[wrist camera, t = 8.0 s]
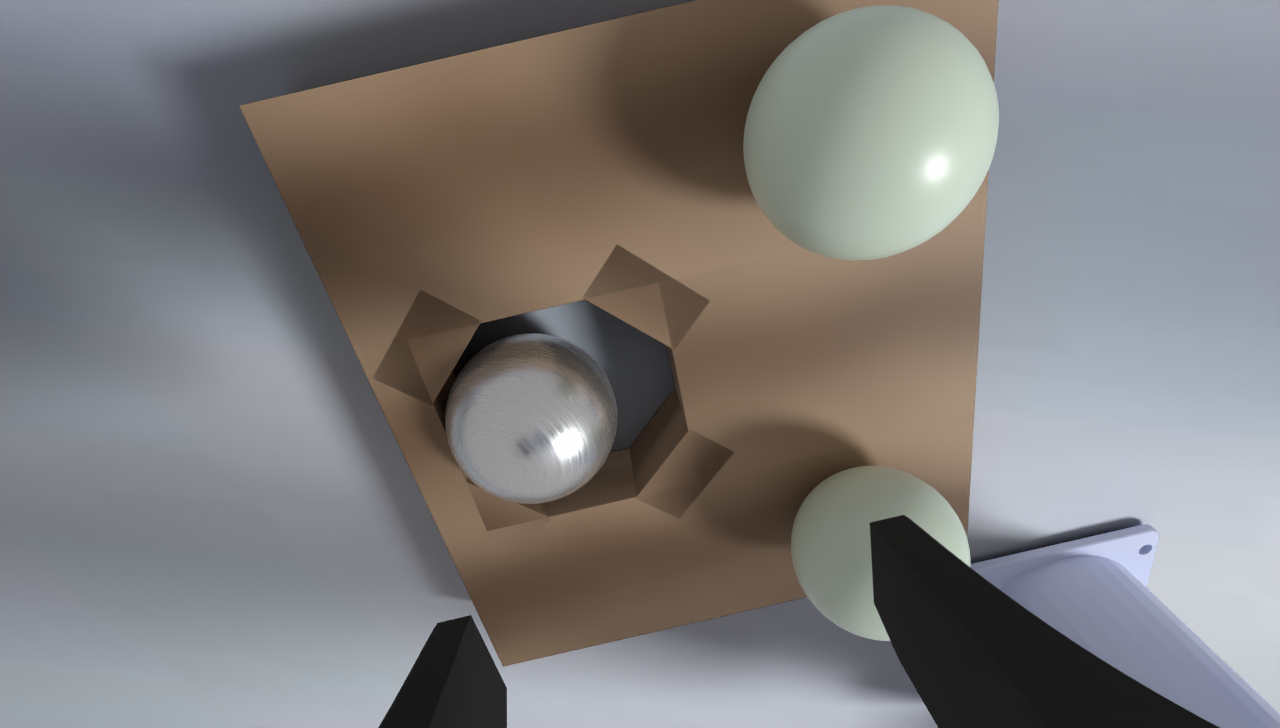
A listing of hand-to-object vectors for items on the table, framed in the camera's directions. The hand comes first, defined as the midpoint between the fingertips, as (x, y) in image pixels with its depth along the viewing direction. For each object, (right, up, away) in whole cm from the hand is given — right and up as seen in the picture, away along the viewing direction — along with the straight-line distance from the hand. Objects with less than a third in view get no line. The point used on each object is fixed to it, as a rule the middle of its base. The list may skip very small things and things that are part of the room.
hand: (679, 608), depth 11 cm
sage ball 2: (+6, -1, +6) cm, 8 cm away
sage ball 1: (+4, +9, +1) cm, 9 cm away
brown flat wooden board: (0, +5, +8) cm, 9 cm away
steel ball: (-4, +3, +6) cm, 8 cm away
